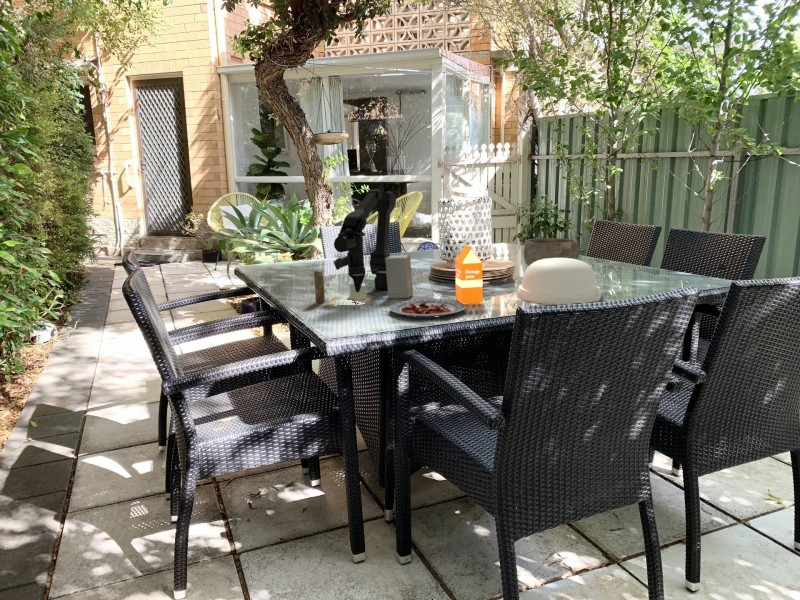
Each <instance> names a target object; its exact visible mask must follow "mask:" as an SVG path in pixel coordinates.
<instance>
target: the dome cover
mask: <svg viewBox="0 0 800 600" xmlns="http://www.w3.org/2000/svg"><path fill="white" fill-rule="evenodd" d="M601 293H602V290H601V288H600V286H599V285H598V284H597V277H596V273H595V271H594V269H593V268H592V266H591V265H589V264H588V262H585V261H582V260H580V259H578V260H577V259H571V258H547V259H542V260H538V261H536V262H534V263H532V264H531V265H529V267H528V266H527V268H526V269H525V271H524V273H523V277H522V281H521V284H519V287H518V289H517V297H518V298H519V299H520V300H522V301H527V302H531V303H539V304H547V305H548V304H549V305H573V304H572V303H581V304H587V303H588V302H589V303H593V302H600V299H601V298H602V294H601Z"/></svg>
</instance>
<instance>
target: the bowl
mask: <svg viewBox="0 0 800 600" xmlns="http://www.w3.org/2000/svg"><path fill="white" fill-rule="evenodd" d="M579 246H580V245H579V241H578V240H577V239H573V238H572V239H571V238H557V237H556V238H555V237H554V238H552V237H550V238H549V237H548V238H547V237H546V238H545V237H543V238H542V237H541V238H530V239H529V238H528V239H527V240H526V241H525V243H524V248H523V259H524V262H525V264H526V266H527V268H528V267H529V265H531V264H532V263H534V262H536V261H538V260H542V259H547V258H571V259H577V260H579V258H580V257H579V256H580V247H579Z"/></svg>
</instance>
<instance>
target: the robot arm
mask: <svg viewBox="0 0 800 600" xmlns="http://www.w3.org/2000/svg"><path fill="white" fill-rule="evenodd" d="M396 202H397V195H396V194H395V193H394V191H383V190H380V189H369V190H368V191H367V193H366V195H365V197H364V198H363V199H362V201H361V202H360V204H359V205H358V207H357V208H356V209H354V211H351V212H349V213H348V214H347V215H346V216H345V218H344V219H343V222H342V225H341V228H340V231H339V233H338V234H337V237H336V238H335V239H334V240H333V247H334V249H335V250H336V251H337V252H338V253H344V252H347V253H346V255H344V256H343V257H338V258H335V259H334V260H333V264H334V267H335V269H336V270H337V271H338V270H340V269H341V268H344V267H347V270H348V271H347V272H348V273H347V274H348V276H349V277H350V278H351V279H352V280H353V284H354V285H355V289H356V292H359V291H360V288H361V285H362V283H364V279H365V276H366V268H365V262H364V261H365V259H364V237H365V236H366V233H365V232H364V230H365V228H366V225H367V224H368V220H367V219H368V216H369V215H370V213H371V212H372V211H373V209H374V208H375V210H376V212H377V224H376V226H377V227H376V241H375V249H374V250H373V252H370V253H369V255H370V256H369V267H370V268H369V269H370V272H371V275H375V277H374V289H375V290H376V291H388V287H387V274H386V262H385V258H387V257H389V256H392V255H391V253H390V252H389V237H390V225H391V224H390V223H391V215H392V214H391V213H392V212H393V211H394V210H395V207H396Z"/></svg>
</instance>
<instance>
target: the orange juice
mask: <svg viewBox="0 0 800 600" xmlns="http://www.w3.org/2000/svg"><path fill="white" fill-rule="evenodd" d="M483 281H484V280H483V262H482V261H481V259H480V258H479V256H478V255H477V253H476V252H475V251H474V249H473V248H472V247H471V246H468V245H466V244H465V245H464V246H463V248H462V249H461V251H460V253H459V255H458V256H457V258H456V259H455V300H456V299H457V300H458V301H459V302H461V303H477V304H481V303H480V302H482V303H483ZM457 300H456V301H457Z"/></svg>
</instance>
